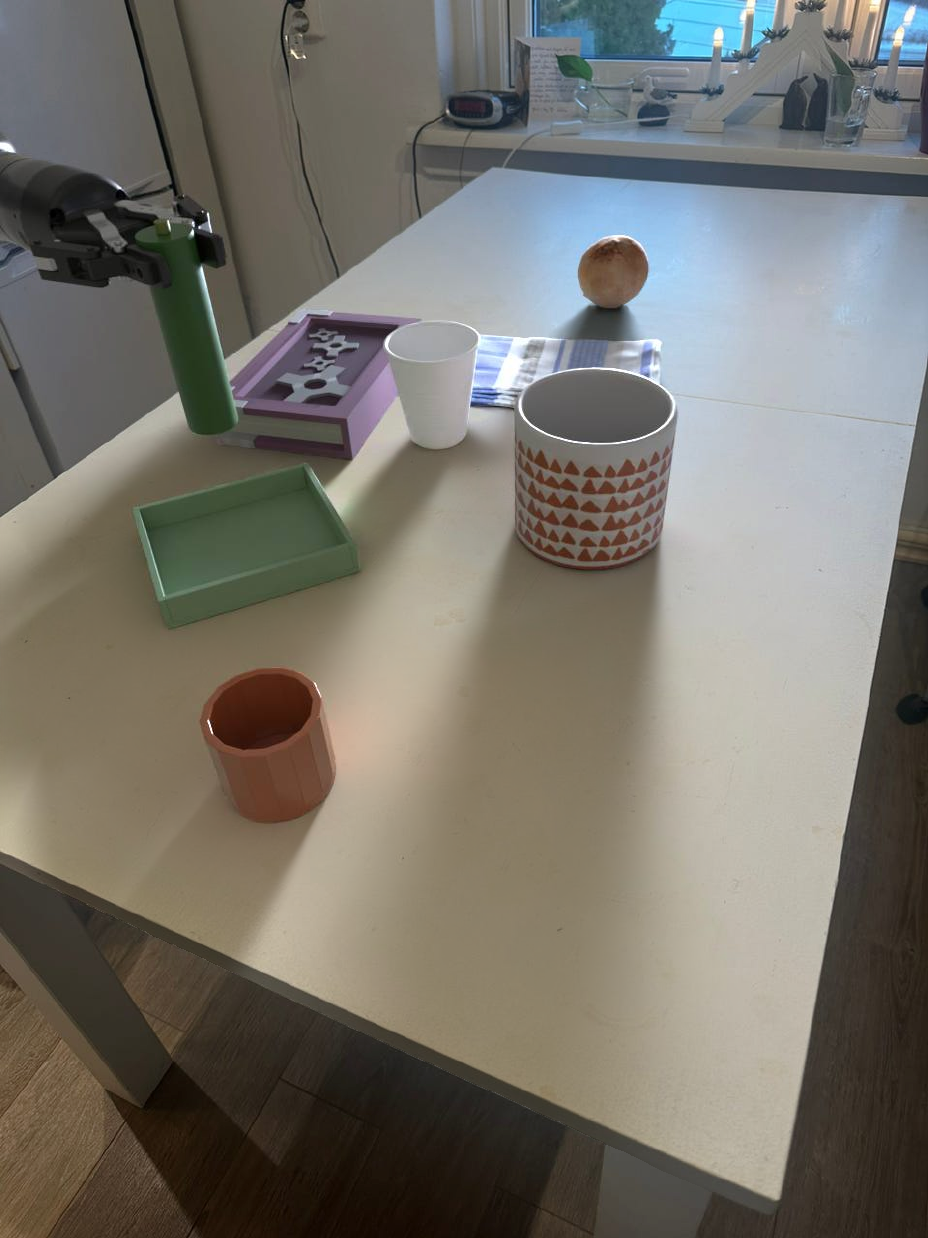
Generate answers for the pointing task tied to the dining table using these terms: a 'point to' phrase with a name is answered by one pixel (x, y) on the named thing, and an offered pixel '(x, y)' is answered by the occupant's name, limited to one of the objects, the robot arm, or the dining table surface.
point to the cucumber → (190, 330)
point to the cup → (434, 379)
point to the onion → (613, 271)
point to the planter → (592, 466)
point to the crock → (270, 744)
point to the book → (316, 385)
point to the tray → (243, 543)
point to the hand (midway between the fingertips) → (192, 262)
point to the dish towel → (552, 363)
